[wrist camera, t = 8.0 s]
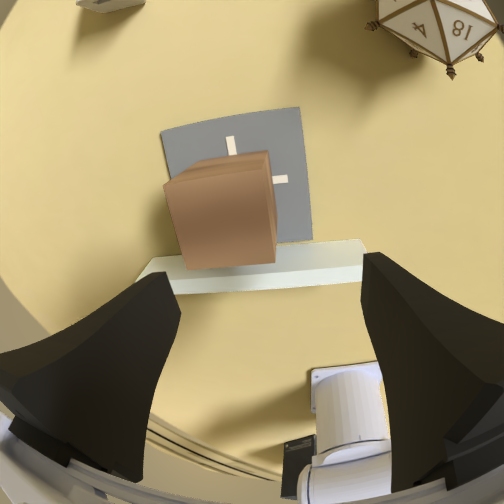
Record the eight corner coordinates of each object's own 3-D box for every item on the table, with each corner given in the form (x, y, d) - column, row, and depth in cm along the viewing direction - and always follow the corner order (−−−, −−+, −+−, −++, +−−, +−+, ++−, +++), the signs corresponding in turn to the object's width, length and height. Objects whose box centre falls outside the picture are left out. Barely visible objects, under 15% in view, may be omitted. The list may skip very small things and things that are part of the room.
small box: (281, 442, 37) (277, 498, 28) (315, 433, 34) (315, 493, 25) (315, 456, 40) (315, 504, 31) (346, 447, 38) (349, 498, 28)
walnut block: (277, 216, 19) (275, 262, 13) (212, 223, 19) (187, 270, 14) (268, 149, 16) (261, 169, 11) (198, 160, 17) (162, 185, 12)
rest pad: (312, 237, 19) (313, 240, 19) (191, 249, 21) (189, 251, 21) (299, 107, 15) (299, 106, 15) (162, 131, 17) (160, 131, 16)
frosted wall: (359, 253, 20) (371, 279, 17) (157, 270, 22) (140, 295, 19) (360, 238, 19) (373, 263, 16) (153, 257, 22) (134, 282, 19)
